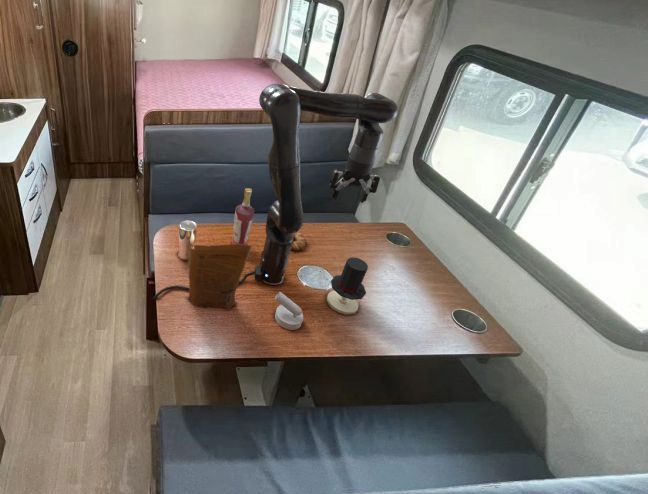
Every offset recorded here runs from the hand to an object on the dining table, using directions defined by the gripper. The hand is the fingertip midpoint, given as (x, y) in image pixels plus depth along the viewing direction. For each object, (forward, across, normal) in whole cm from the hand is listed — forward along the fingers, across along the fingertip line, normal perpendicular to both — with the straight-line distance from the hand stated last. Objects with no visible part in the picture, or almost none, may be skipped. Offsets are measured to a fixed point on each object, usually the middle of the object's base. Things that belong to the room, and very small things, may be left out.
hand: (347, 199), depth 132 cm
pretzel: (+34, -10, +16) cm, 39 cm away
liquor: (+34, -32, +9) cm, 48 cm away
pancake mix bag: (+34, -41, -24) cm, 59 cm away
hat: (+26, +4, -14) cm, 30 cm away
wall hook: (+34, -16, -25) cm, 45 cm away
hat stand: (+34, +4, -14) cm, 37 cm away
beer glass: (+34, -53, -1) cm, 63 cm away
